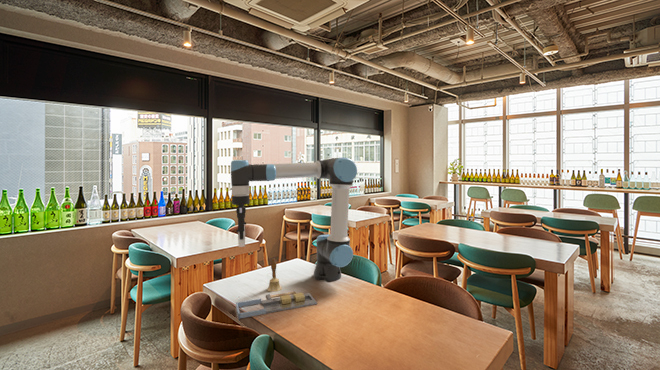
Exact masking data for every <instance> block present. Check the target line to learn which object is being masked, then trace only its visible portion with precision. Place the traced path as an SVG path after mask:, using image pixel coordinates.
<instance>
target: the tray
mask: <svg viewBox="0 0 660 370" xmlns="http://www.w3.org/2000/svg"><path fill="white" fill-rule="evenodd" d="M261 301H262V298H257V299H250V300H244V301H243V300H242V301H238V302H235V310H236V315H237V319H238V322H240V320H241V319H244V318H245V319H246V318H251V317H255V316H256V317H257V316H259V315H265V314H266V309H264V308H261V309H257V310H250V311H245V312H240V308H241V307H242V308H243V307H248V306H253V305H259V304H260V305H261V304H262V302H261Z"/></svg>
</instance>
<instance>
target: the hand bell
mask: <svg viewBox="0 0 660 370" xmlns="http://www.w3.org/2000/svg"><path fill="white" fill-rule="evenodd" d="M270 268H271V271H272V273H271V275H272V278H271V279H270V280H269V283H268V286H267V288H266V290H267V291H269V292H279V291H281V290H282V289H283V288H282V286H281V284H280V280H279V278H277V275H276V273H277V271H276V269H277V261H276V259H275V258H272V259H271V263H270Z"/></svg>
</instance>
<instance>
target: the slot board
mask: <svg viewBox="0 0 660 370" xmlns="http://www.w3.org/2000/svg"><path fill="white" fill-rule="evenodd" d="M303 294H304V296H305V301H304V302H298V303H295V302H294V301H293V294H291V295H290V297H291V304H287V305H281V303H280V297H274V298H272V299H269V300H268V299H264V300H261V304H262V307H263V309H266V314H267V315H268V314H271V313H272V314H273V313H276V312H283V311H288V310H294V309H298V308H303V307H308V306H309V307H310V306H315V305H318V301H317V300H316V299H315V297H313V295H312V294H311V293H310V292H306V293H303Z"/></svg>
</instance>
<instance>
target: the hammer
mask: <svg viewBox="0 0 660 370" xmlns="http://www.w3.org/2000/svg"><path fill="white" fill-rule="evenodd" d="M296 293H297V291H290V292H284V293H278V294H273V295H271V294H265V296H266V298H267V299H266V300H269V299H274V298H280V296H284V295H290V296H292V295H293V294H296Z"/></svg>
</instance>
